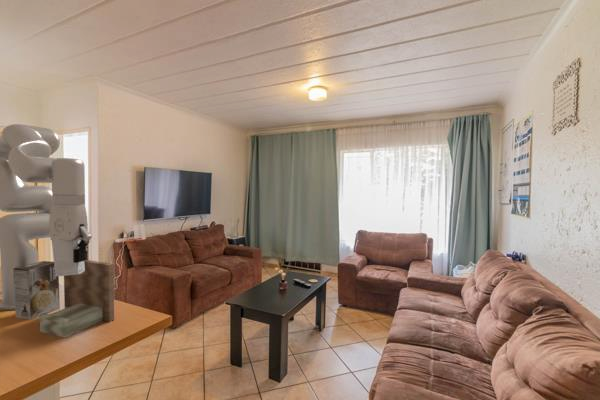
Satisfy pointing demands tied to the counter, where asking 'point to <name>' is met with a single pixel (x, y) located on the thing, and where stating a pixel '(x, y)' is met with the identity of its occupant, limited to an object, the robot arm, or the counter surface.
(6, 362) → the counter surface
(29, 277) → the coffee box
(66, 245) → the skincare box
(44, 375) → the counter surface
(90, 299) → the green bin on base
